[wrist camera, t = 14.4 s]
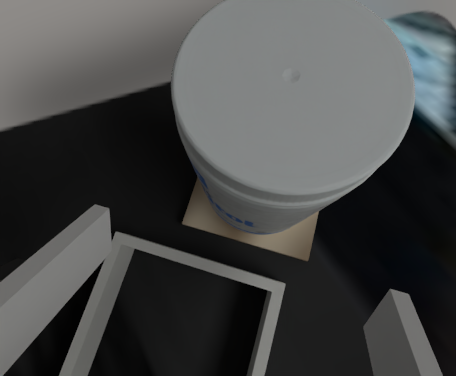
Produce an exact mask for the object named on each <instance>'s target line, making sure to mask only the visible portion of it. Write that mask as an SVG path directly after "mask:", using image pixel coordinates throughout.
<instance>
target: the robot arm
mask: <svg viewBox="0 0 456 376" xmlns="http://www.w3.org/2000/svg"><path fill="white" fill-rule="evenodd" d="M111 251H112V241H111V227H110V212H109V208H106V207H102V206H99V205H93V206H92V207H91V208H90V209H89V210H87V211H86V212H85V213H84V214H82V215H81V216H80V217H79V218H78V219H76V220H75V221H74V222H73V223H72V224H70V225H69V226H68V227H67V228H65V229H64V230H63V231H62V232H61V233H59V234H58V235H57V236H56V237H54V238H53V239H52V240H51V241H50V242H48V243H47V244H46V245H45V246H44V247H42V248H41V249H40V250H39V251H37V252H36V253H35V254H34V255H33V256H31V257H30V258H29V259H28V260H27V261H26V260H23V259H20V258H17V259H14V260H12V261H10V262H8V263H6V264H4V265H2V266H0V376H3V375H4V374H5V372H6V371H7V370H8V369H9V368H10V367H11V366H12V364H13V363H14V362H15V361H16V360H17V359H18V358H19V356H20V355H21V354H22V353H23V352H24V351H25V350H26V348H27V347H28V346H29V345H30V344H31V343H32V342H33V340H34V339H35V338H36V337H37V336H38V335H39V334H40V332H41V331H42V330H43V329H44V328H45V327H46V326H47V324H48V323H49V322H50V321H51V320H52V319H53V318H54V316H55V315H56V314H57V313H58V312H59V311H60V310H61V308H62V307H63V306H64V305H65V304H66V303H67V301H68V300H69V299H70V298H71V297H72V296H73V295H74V293H75V292H76V291H77V290H78V289H79V288H80V287H81V285H82V284H83V283H84V282H85V281H86V280H87V279H88V277H89V276H90V275H91V274H92V273H93V272H94V271H95V269H96V268H97V267H98V266H99V265H100V264H101V263H102V261H103V260H104V259H105V258H106V257H107V256H108V255H109V253H110V252H111ZM363 328H364V332H365V337H366V342H367V346H368V351H369V355H370V360H371V365H372V369H373V374H374V376H443V375H442V373H441V370H440V368H439V365H438V363H437V361H436V358H435V356H434V354H433V351H432V349H431V346H430V344H429V342H428V339H427V337H426V335H425V332H424V330H423V327H422V325H421V323H420V320H419V318H418V315H417V313H416V311H415V308H414V306H413V304H412V301H411V299H410V296H409V294H406V293H403V292H399V291H396V290H392V289H390V290H389V291H388V293H387V294H386V295H385V297H384V298H383V300H382V301H381V302H380V304H379V305H378V307H377V308H376V310H375V311H374V312H373V314H372V315H371V317H370V318H369V320H368V321H367V322H366V324H365V325H364V327H363Z"/></svg>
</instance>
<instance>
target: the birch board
mask: <svg viewBox="0 0 456 376" xmlns="http://www.w3.org/2000/svg"><path fill="white" fill-rule="evenodd" d="M318 213H319V211H318V212H316V213H314V214H313V215H311V216H309V217H308V218H306V219H304V220H303V221H301V222H299V223H298V224H296V225H294V226H292V227H290V228H289V229H287V230H284V231H282V232H279V233H275V234H269V235H255V234H250V233H246V232H243V231H240V230H238V229H236V228H234V227H232V226H230V225H229V224H227V223H226V222H225V221H224V220H222V219H221V218H220V217H219V216H218V214H217V213H216V212H215V210H214V209H213V207H212V206H211V204H210V202H209V200H208V198H207V196H206V194H205V191H204V189H203V187H202V185H201V183H200V181H199V179H198V178H197V181H196V184H195V187H194V190H193V192H192V195H191V198H190V201H189V204H188V207H187V210H186V213H185V216H184V219H183V222H182V224H183V225H186V226H189V227H193V228H196V229H199V230H203V231H206V232H209V233H213V234H216V235H220V236H223V237H226V238H230V239H233V240H236V241H240V242H243V243H246V244H250V245H253V246H257V247H260V248H263V249H267V250H270V251H273V252H277V253H280V254H283V255H287V256H290V257H294V258H297V259H300V260H304V261H308V259H309V254H310V250H311V245H312V240H313V236H314V231H315V227H316V222H317V217H318Z"/></svg>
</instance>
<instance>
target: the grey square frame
mask: <svg viewBox="0 0 456 376" xmlns="http://www.w3.org/2000/svg"><path fill="white" fill-rule="evenodd" d="M134 249H138V250H141V251H144V252H148V253H151V254H154V255H157V256H160V257H163V258H167V259H170V260H173V261H176V262H179V263H182V264H186V265H189V266H192V267H195V268H198V269H202V270H205V271H208V272H211V273H214V274H217V275H221V276H224V277H227V278H230V279H233V280H236V281H240V282H243V283H246V284H249V285H252V286H256V287H259V288H262V289H265V290H268V291H267V295H266V299H265V303H264V307H263V311H262V315H261V319H260V323H259V327H258V331H257V336H256V340H255V344H254V348H253V352H252V356H251V360H250V364H249V368H248V372H247V376H264V375H265V370H266V366H267V362H268V357H269V353H270V349H271V344H272V340H273V336H274V332H275V327H276V323H277V319H278V314H279V310H280V306H281V301H282V297H283V293H284V288H285V283H282V282H280V281H277V280H274V279H271V278H268V277H264V276H261V275H258V274H255V273H251V272H248V271H245V270H242V269H239V268H235V267H232V266H229V265H226V264H222V263H219V262H216V261H213V260H209V259H206V258H203V257H200V256H196V255H193V254H190V253H187V252H184V251H180V250H177V249H174V248H171V247H167V246H164V245H161V244H158V243H154V242H151V241H148V240H145V239H142V238H138V237H135V236H132V235H128V234H124V233H120V232H115V235H114V237H113V240H112V251H111V252H110V253H109V255H108V256H107V257H106V258H105V260H104V263H103V265H102V268H101V270H100V273H99V275H98V278H97V280H96V283H95V286H94V288H93V291H92V293H91V296H90V298H89V301H88V303H87V306H86V308H85V311H84V313H83V316H82V318H81V321H80V324H79V326H78V329H77V331H76V334H75V336H74V339H73V341H72V344H71V346H70V349H69V351H68V354H67V356H66V359H65V361H64V364H63V367H62V369H61V372H60V374H59V376H87V375H88V373H89V370H90V367H91V365H92V362H93V359H94V357H95V354H96V351H97V349H98V346H99V343H100V341H101V338H102V335H103V332H104V330H105V327H106V324H107V322H108V319H109V316H110V314H111V311H112V308H113V306H114V303H115V300H116V298H117V295H118V292H119V290H120V287H121V284H122V281H123V279H124V276H125V273H126V271H127V268H128V265H129V263H130V260H131V257H132V255H133V252H134Z"/></svg>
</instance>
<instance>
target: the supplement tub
mask: <svg viewBox="0 0 456 376" xmlns="http://www.w3.org/2000/svg"><path fill="white" fill-rule="evenodd" d="M171 95H172V103H173V108H174V112H175V118H176V124H177V128H178V132H179V135H180V137H181V140H182V143H183V145H184V148H185V150H186V152H187V155H188V157H189V159H190V161H191V163H192V166H193V168H194V170H195V172H196V174H197V177H198V179H199V181H200V183H201V185H202V187H203V189H204V191H205V194H206V196H207V198H208V200H209V202H210V204H211V206H212V207H213V209H214V210H215V212H216V213H217V214H218V216H219V217H220V218H221V219H222V220H224V221H225V222H226V223H227V224H229V225H230V226H232V227H234V228H236V229H238V230H240V231H243V232H246V233H250V234H255V235H269V234H275V233H279V232H282V231H284V230H287V229H289V228H290V227H292V226H294V225H296V224H298V223H299V222H301V221H303V220H304V219H306V218H308V217H309V216H311V215H313V214H314V213H316V212H318V211H319V210H321V209H323V208H324V207H326V206H327V205H329V204H331V203H332V202H334V201H336V200H337V199H339V198H340V197H342V196H343V195H345V194H347V193H348V192H350V191H351V190H353V189H354V188H356V187H357V186H359V185H360V184H361V183H363V182H364V181H365V180H366V179H367V178H368V177H370V176H371V175H372V174H373V173H374V172H375V171H376V169H377V168H378V167H380V166H381V165H382V164H383V163H384V162H385V161H386V160H387V159H388V158H389V157H390V156H391V155H392V153H393V152H394V151H395V150H396V148H397V147H398V146H399V144H400V142H401V141H402V139H403V137H404V135H405V133H406V131H407V129H408V126H409V124H410V121H411V118H412V113H413V108H414V102H415V85H414V77H413V72H412V68H411V64H410V61H409V59H408V56H407V54H406V52H405V50H404V48H403V46H402V44H401V42H400V41H399V39H398V38H397V37H396V35H395V34H394V32H393V31H392V30H391V29H390V28H389V26H388V25H387V24H386V23H385V22H384V21H383V20H382V19H381V18H379V17H378V16H377V15H376V14H375V13H373V12H372V11H371V10H369V9H368V8H367V7H365V6H364V5H362V4H360V3H359V2H357V1H355V0H224V1H222V2H221V3H219V4H217V5H216V6H214V7H213V8H212V9H211V10H209V11H208V12H206V13H205V14H204V15H203V16H202V17H201V18H200V19H199V20H198V21H197V22H196V23H195V24H194V25H193V27H192V28H191V29H190V31H189V32H188V33H187V35H186V36H185V38H184V40H183V41H182V43H181V45H180V48H179V50H178V52H177V55H176V58H175V62H174V66H173V70H172V77H171Z"/></svg>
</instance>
